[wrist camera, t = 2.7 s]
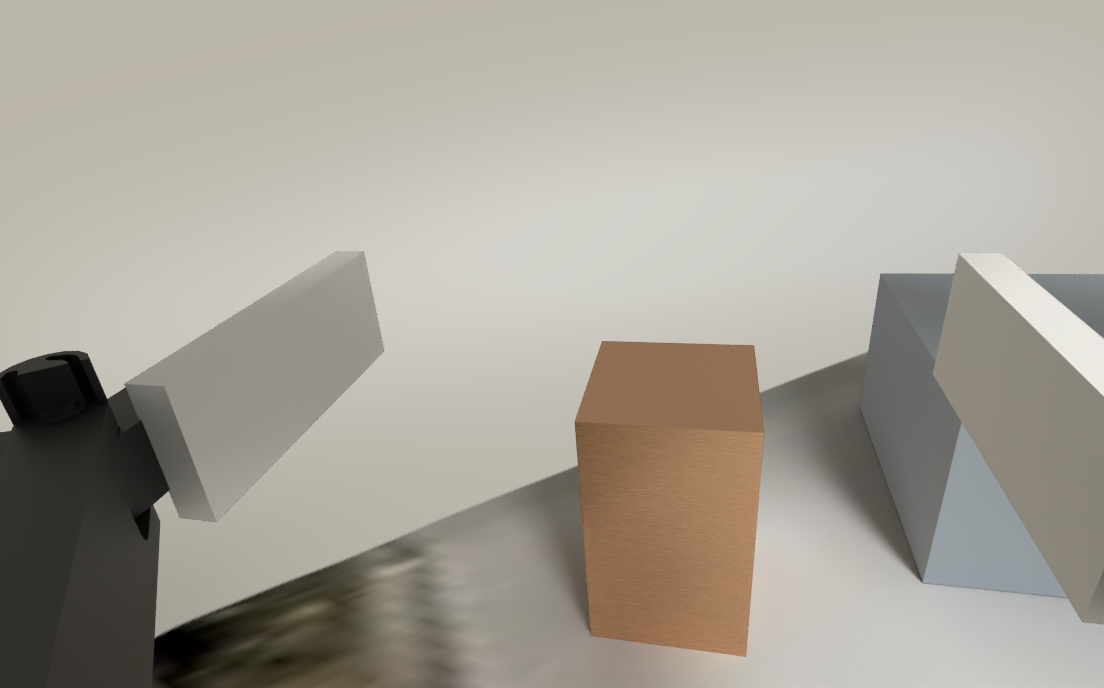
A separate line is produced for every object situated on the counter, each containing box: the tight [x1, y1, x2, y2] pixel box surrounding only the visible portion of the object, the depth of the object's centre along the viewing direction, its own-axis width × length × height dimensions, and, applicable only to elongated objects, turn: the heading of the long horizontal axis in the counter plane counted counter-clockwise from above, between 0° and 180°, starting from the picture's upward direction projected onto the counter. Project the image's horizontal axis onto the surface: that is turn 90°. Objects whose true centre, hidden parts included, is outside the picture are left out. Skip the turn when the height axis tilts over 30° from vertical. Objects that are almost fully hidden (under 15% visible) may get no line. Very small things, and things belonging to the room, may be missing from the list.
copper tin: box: [575, 341, 764, 657], centre depth 30 cm, size 7×7×12 cm
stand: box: [860, 274, 1104, 598], centre depth 34 cm, size 16×16×10 cm
